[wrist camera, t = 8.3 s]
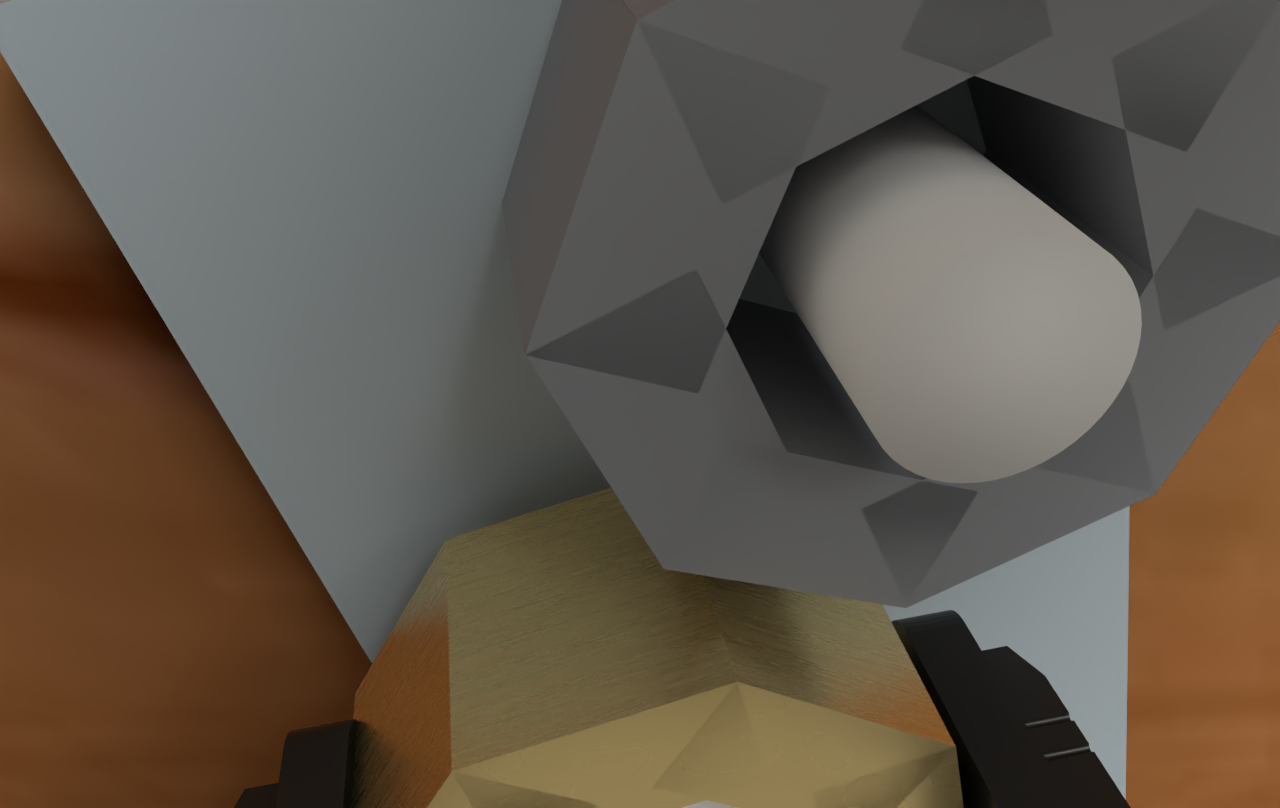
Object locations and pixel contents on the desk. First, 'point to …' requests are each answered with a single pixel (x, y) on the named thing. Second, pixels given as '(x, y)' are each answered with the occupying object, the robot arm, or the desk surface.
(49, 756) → the desk surface
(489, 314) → the gear board
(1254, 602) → the desk surface
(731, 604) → the brass gear
